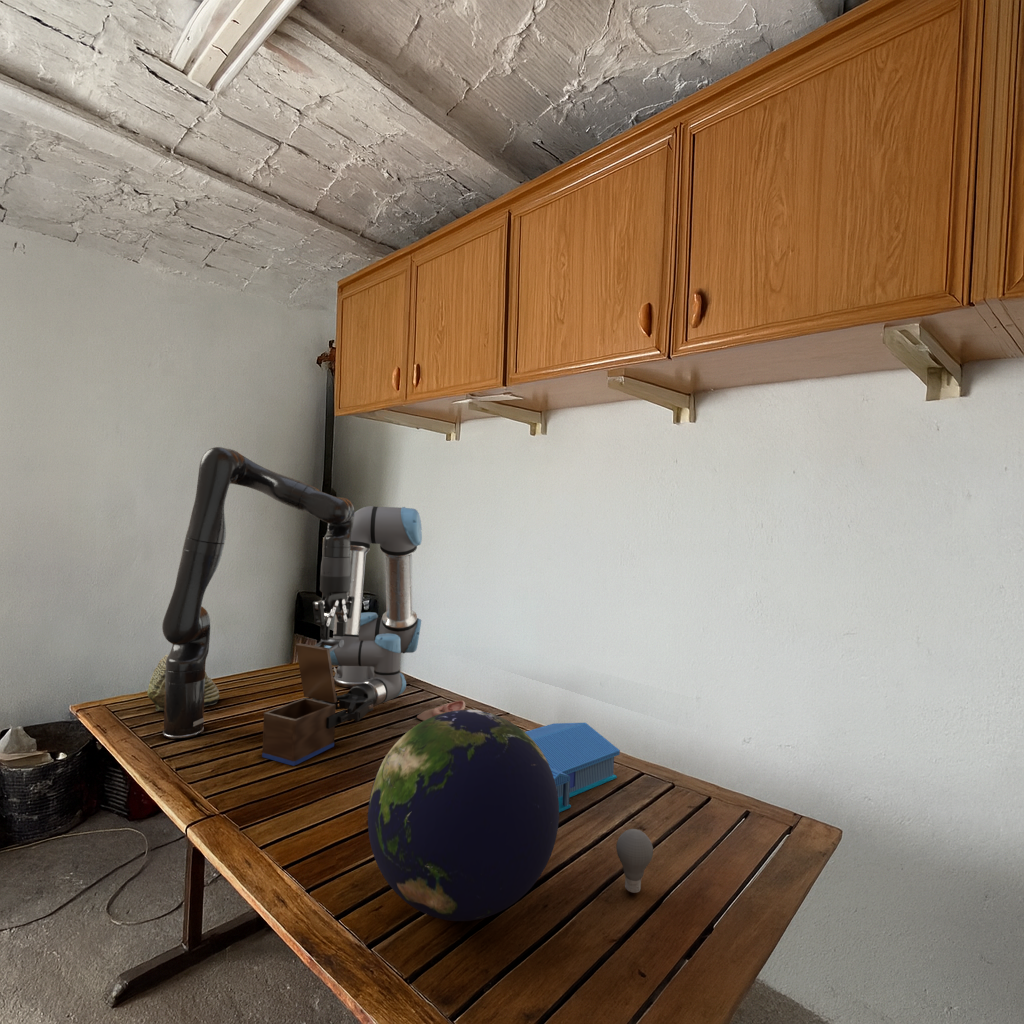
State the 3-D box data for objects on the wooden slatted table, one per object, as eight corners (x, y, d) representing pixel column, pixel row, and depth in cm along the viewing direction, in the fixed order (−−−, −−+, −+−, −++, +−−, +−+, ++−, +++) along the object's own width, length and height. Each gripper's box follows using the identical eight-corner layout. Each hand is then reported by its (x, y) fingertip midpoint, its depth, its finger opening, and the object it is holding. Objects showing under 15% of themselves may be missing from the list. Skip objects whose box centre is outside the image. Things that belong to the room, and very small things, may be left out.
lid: (326, 649, 156) (349, 635, 164) (295, 644, 161) (318, 630, 168) (334, 703, 160) (356, 686, 168) (303, 696, 164) (326, 680, 172)
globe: (322, 932, 92) (330, 728, 92) (425, 835, 120) (432, 678, 119) (512, 1001, 81) (522, 769, 81) (577, 877, 109) (585, 703, 108)
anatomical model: (413, 707, 181) (426, 695, 192) (412, 720, 181) (426, 708, 192) (457, 712, 178) (468, 699, 189) (457, 726, 178) (468, 713, 189)
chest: (294, 766, 148) (295, 720, 148) (262, 757, 152) (263, 712, 152) (334, 746, 161) (335, 704, 161) (303, 738, 165) (305, 697, 165)
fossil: (144, 707, 182) (145, 655, 182) (212, 696, 194) (213, 647, 194) (151, 716, 175) (153, 662, 175) (221, 703, 188) (223, 653, 188)
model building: (501, 837, 120) (504, 785, 120) (427, 790, 139) (429, 744, 138) (628, 782, 147) (630, 739, 147) (552, 748, 165) (553, 710, 165)
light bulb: (610, 879, 108) (613, 822, 108) (644, 879, 109) (647, 822, 109) (619, 902, 102) (622, 840, 102) (655, 901, 103) (658, 840, 103)
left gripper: (328, 577, 157) (325, 645, 158) (364, 572, 170) (361, 635, 171) (304, 574, 161) (302, 641, 161) (342, 570, 174) (339, 631, 174)
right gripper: (398, 716, 175) (346, 742, 155) (334, 702, 185) (276, 725, 165) (399, 689, 175) (347, 712, 155) (335, 676, 185) (277, 696, 164)
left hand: (332, 637), depth 166 cm, fingers open, 5 cm apart
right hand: (310, 719), depth 160 cm, fingers closed on chest, 10 cm apart
